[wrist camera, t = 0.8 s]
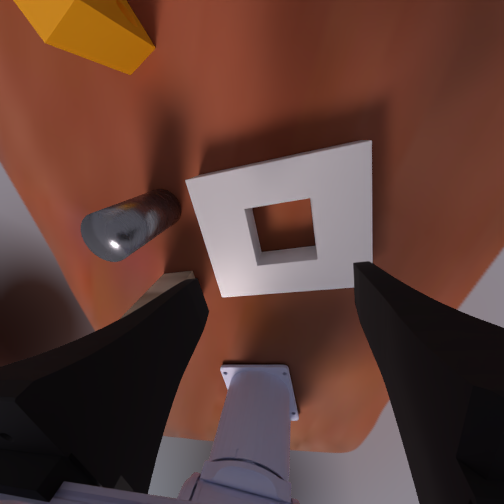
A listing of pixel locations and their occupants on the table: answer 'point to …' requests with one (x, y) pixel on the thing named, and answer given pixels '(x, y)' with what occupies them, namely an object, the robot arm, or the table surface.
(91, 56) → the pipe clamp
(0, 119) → the table surface
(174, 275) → the square peg
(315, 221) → the socket block
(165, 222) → the round peg
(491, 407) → the robot arm
